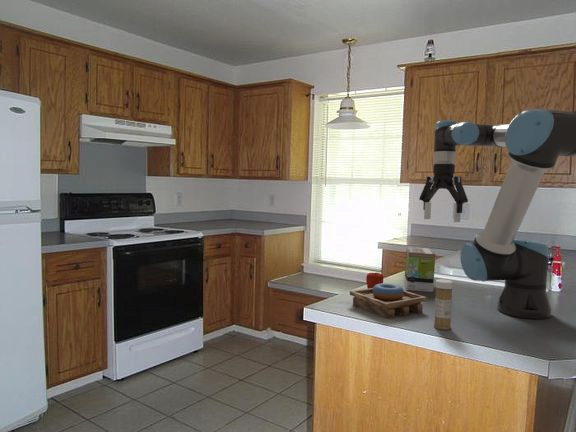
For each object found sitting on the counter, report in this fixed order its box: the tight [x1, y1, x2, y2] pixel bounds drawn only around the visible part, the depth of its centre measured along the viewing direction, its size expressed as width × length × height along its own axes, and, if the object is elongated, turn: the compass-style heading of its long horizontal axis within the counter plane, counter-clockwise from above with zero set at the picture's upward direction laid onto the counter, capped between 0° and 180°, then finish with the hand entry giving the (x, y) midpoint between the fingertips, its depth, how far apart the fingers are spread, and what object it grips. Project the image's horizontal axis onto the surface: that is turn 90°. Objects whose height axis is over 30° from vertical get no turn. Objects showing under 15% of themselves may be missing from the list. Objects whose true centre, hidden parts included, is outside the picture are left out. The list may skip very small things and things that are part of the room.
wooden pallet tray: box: [349, 288, 427, 320], centre depth 141 cm, size 17×17×5 cm
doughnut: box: [373, 282, 405, 301], centre depth 141 cm, size 10×10×5 cm
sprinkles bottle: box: [433, 278, 454, 331], centre depth 123 cm, size 5×5×14 cm
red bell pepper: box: [365, 272, 384, 293], centre depth 162 cm, size 6×6×8 cm
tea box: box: [404, 247, 436, 293], centre depth 172 cm, size 15×10×15 cm, turn 168°
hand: (441, 220), depth 165 cm, fingers open, 13 cm apart
